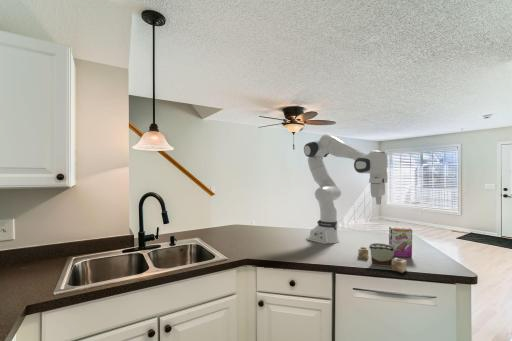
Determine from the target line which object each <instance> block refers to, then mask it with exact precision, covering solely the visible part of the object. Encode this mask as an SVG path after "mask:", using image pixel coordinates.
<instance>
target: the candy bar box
mask: <svg viewBox="0 0 512 341" xmlns="http://www.w3.org/2000/svg"><path fill="white" fill-rule="evenodd" d="M388 245H390V246H392V247H394V250H395V252H393V257H395V258H409V259H411V258H413V229H412V228H410V227H400V226H398V227H397V226H388Z"/></svg>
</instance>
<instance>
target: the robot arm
mask: <svg viewBox="0 0 512 341" xmlns="http://www.w3.org/2000/svg"><path fill="white" fill-rule="evenodd" d="M303 152H304V155H305V156H306V157H308V158H307V164H308V167H309V171H310V173H311V176H312V178H313V180H314V182H315V183H316V184H317V185H318V186H319V187H318V188H316V190H315V192H314V196H315V199H316V200H317V203H318V206H319V210H320V212H319V214H320V219H319V220H318V221H317V222H316V223H317V225H316V226H314V227H313V228H312V229H310V231H309V235H308V236H306V240H308V241H311V242H315V243H319V244H324V245H325V244H326V245H327V244H337V243H339V242H340V240H339V236H338V220H337V218H338V217H337V216H338V215H337V214H338V213H337V208H335V204H334V201H336V200H338V199H339V198H340V197H341V195H342V190H341V188H340V187H339V186H338V185H337V184H336V183H335V181H334V180H333V179H332V177H331V176H330V174H329V172H328V169H327V167H326V165H325V162H324V158H326V157H328V155H331V156H334V157H335V158H345V159H351V160H353V161H354V163H353V168H354V170H355V172H356V173H358V174H369V180H368V182H369V185H370V186H369V187H370V196H371V198H375V201H376V202H375V204H376V205H381V203H382V197H383V196H385V195H386V184H387V183H388V172H387V170H388V156H387V153H386V152H385V151H383V150H375V149H374V150H371V151H370V152H369V153H367V154H366V153H364V152H361V151H360V150H358V149H356V148H354V147H352V146H350V144H347V143H346V142H344V141H342V140H341V139H339V138H338V137H336V136H334V135H332V134H327V133H326V134H323V135H321V137H320V138H319V139H318V140H316V141H310V142H308V143H306V144H305V145H304V146H303Z"/></svg>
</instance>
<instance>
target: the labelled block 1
mask: <svg viewBox="0 0 512 341" xmlns="http://www.w3.org/2000/svg"><path fill="white" fill-rule="evenodd" d="M357 251H358V256H357V257H358V258H359V259H364V260H368V259H369V247H365V246H358V250H357Z"/></svg>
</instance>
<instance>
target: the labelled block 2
mask: <svg viewBox="0 0 512 341" xmlns="http://www.w3.org/2000/svg"><path fill="white" fill-rule="evenodd" d="M407 263H408V261H407V259H403V258H400V257H395V258H394V257H393V259H392V267H391V270H392V271H395V272H397V273H398V272H399V273H404V272H406V271H407V270H408V269H407Z"/></svg>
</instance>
